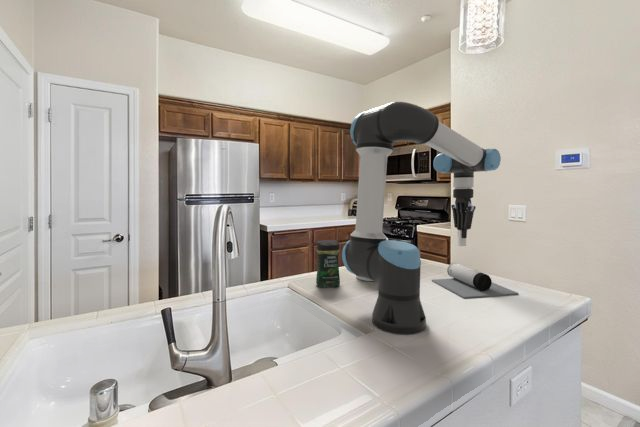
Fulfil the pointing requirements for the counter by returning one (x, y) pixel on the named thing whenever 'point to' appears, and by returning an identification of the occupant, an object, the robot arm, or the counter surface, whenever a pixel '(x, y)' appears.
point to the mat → (472, 289)
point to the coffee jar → (328, 263)
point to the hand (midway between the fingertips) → (461, 245)
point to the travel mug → (469, 276)
